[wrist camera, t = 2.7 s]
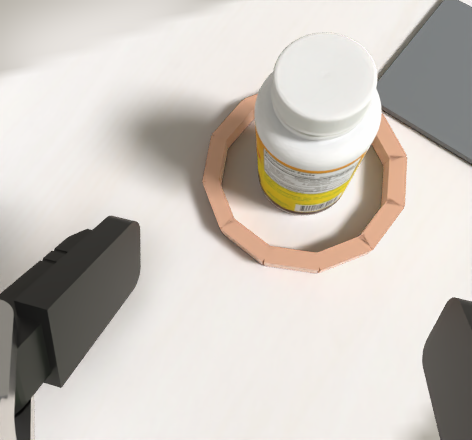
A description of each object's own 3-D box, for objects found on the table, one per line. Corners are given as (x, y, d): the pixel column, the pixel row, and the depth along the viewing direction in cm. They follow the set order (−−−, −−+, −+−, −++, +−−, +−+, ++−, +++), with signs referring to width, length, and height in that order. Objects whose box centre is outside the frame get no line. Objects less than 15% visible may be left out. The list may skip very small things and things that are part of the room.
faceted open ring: (170, 192, 24) (165, 186, 23) (283, 64, 26) (284, 52, 25) (323, 313, 22) (326, 312, 21) (436, 160, 24) (445, 151, 23)
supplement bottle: (291, 122, 25) (306, -9, 15) (363, 167, 24) (430, 56, 14) (240, 186, 24) (222, 90, 14) (312, 236, 23) (347, 168, 13)
